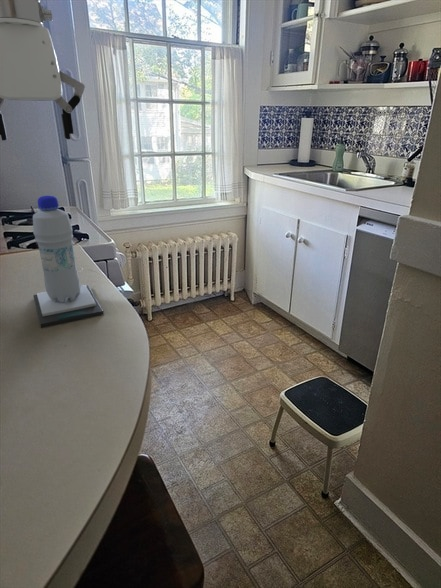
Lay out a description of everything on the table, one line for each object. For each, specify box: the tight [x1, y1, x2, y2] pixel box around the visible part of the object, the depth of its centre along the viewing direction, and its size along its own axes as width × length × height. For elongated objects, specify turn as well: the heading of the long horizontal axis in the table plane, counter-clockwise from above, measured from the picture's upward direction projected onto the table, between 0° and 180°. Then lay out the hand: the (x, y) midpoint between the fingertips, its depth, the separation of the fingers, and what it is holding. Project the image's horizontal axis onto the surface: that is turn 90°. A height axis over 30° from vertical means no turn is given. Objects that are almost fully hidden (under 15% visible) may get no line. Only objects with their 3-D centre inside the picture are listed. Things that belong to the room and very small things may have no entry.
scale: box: [33, 284, 105, 329], centre depth 77 cm, size 14×11×3 cm
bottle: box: [32, 195, 81, 303], centre depth 73 cm, size 7×7×20 cm
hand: (37, 139), depth 65 cm, fingers open, 9 cm apart
